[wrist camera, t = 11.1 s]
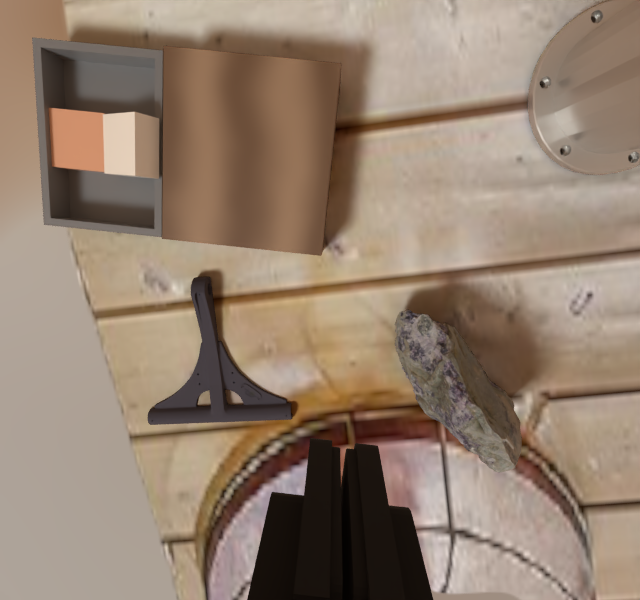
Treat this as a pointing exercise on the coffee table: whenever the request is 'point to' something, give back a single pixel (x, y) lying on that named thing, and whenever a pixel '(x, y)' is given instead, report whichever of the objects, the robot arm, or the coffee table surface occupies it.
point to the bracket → (216, 379)
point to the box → (102, 97)
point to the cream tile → (131, 145)
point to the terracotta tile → (77, 139)
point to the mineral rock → (458, 390)
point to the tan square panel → (247, 149)
